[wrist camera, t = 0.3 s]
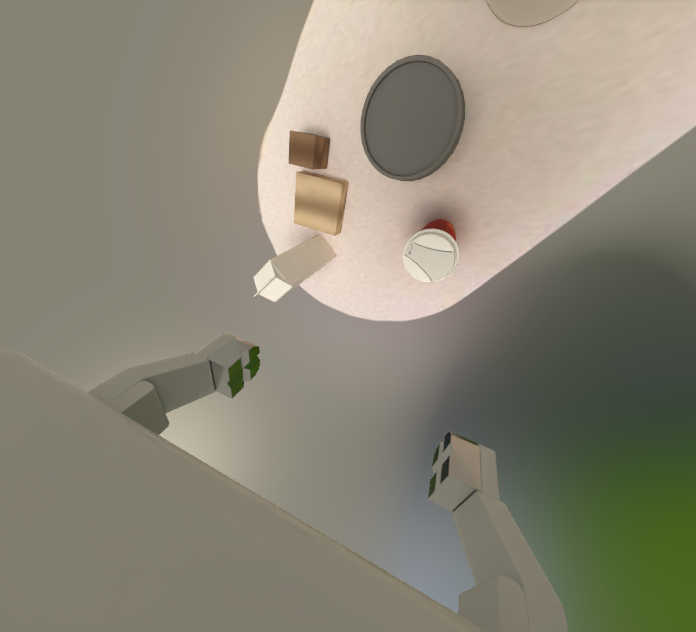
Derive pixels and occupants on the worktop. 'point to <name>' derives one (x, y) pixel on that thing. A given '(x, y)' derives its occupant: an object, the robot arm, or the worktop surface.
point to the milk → (292, 268)
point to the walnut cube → (308, 150)
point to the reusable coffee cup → (412, 118)
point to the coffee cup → (432, 252)
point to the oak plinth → (320, 202)
